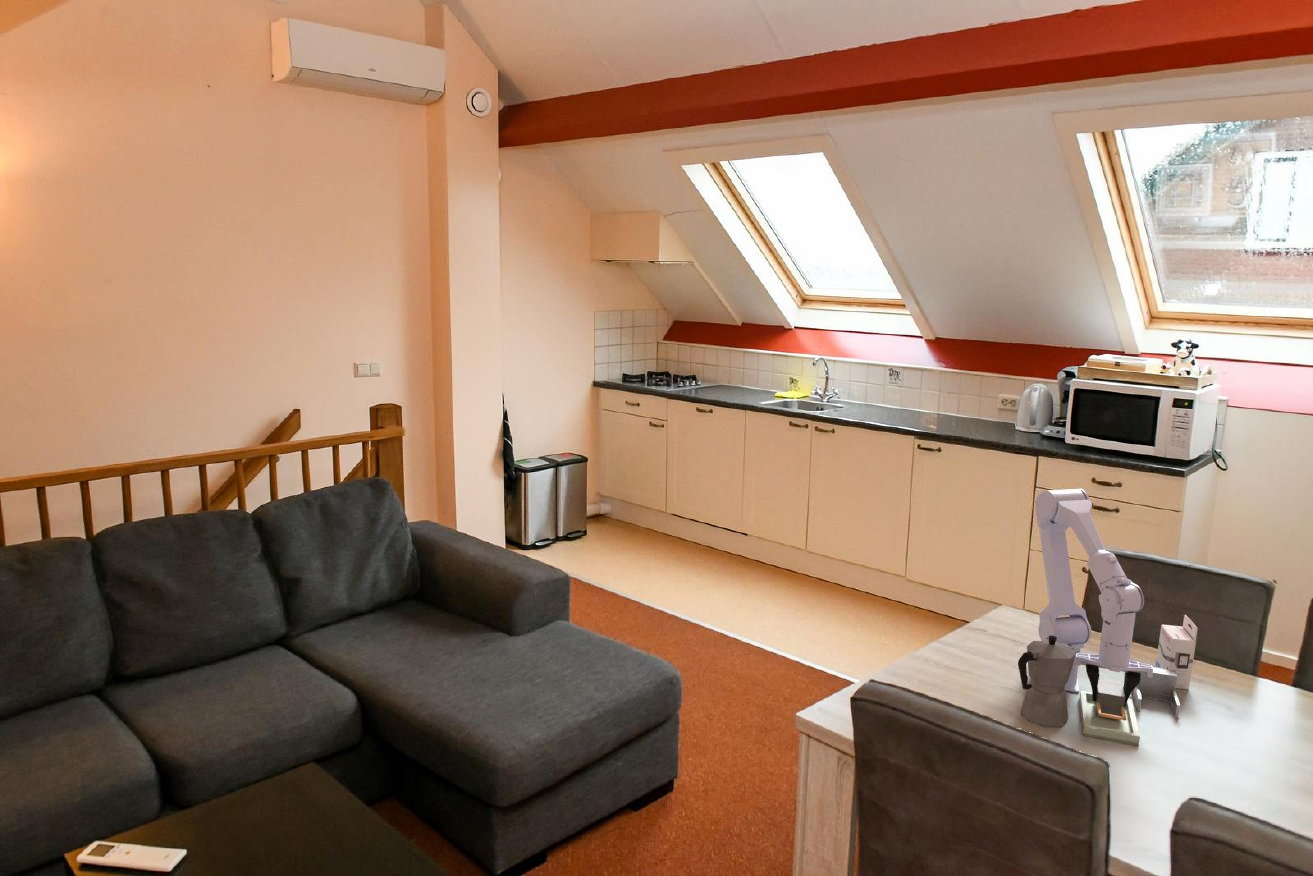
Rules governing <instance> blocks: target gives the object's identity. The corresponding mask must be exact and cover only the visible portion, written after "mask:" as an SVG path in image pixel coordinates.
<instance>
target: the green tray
mask: <svg viewBox="0 0 1313 876" xmlns="http://www.w3.org/2000/svg"><path fill="white" fill-rule="evenodd" d="M1078 701H1079V707H1080V716H1081V717H1080V718H1081V725H1082V727H1081V728H1082V734H1083V737H1089V738H1094V739H1099V740H1103V741H1104V740H1105V741H1110V742H1115V743H1119V744H1126V745H1132V746H1137V747H1139V746H1140V742H1141V741H1140V738H1141V736H1140V735H1141V734H1140V730H1139V726H1138V722H1137V718H1136V713H1135V708H1134V703H1133V700H1132V698H1128V701H1127V703H1126V706H1125V707H1124V710H1125V715H1126V721H1125V720H1119V719H1114V718H1108V717H1103V716H1098V715H1096V714H1095V706H1094V701H1093V699H1092V691H1086V690H1080V689H1079V700H1078Z"/></svg>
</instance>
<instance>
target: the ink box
mask: <svg viewBox="0 0 1313 876" xmlns="http://www.w3.org/2000/svg"><path fill="white" fill-rule="evenodd" d="M1189 625H1190V626H1189ZM1197 636H1198V627H1197V626H1196V624H1195V623H1194V622H1193V621H1192V619H1190V617H1188V616H1187V614H1184V615H1183V623H1182V626H1179V625H1170V624H1161V625H1160V632H1159V640H1158V647H1157V654H1156V660H1155V668H1161V669H1167V670H1174V671H1176V674H1177V682H1176V689H1180V690H1181V689H1182V690H1183V689H1184V690H1189V689H1190V683H1191V678H1192V672H1193V664H1194V658H1195V652H1196V651H1195V650H1196V644H1197V638H1198V637H1197Z"/></svg>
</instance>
